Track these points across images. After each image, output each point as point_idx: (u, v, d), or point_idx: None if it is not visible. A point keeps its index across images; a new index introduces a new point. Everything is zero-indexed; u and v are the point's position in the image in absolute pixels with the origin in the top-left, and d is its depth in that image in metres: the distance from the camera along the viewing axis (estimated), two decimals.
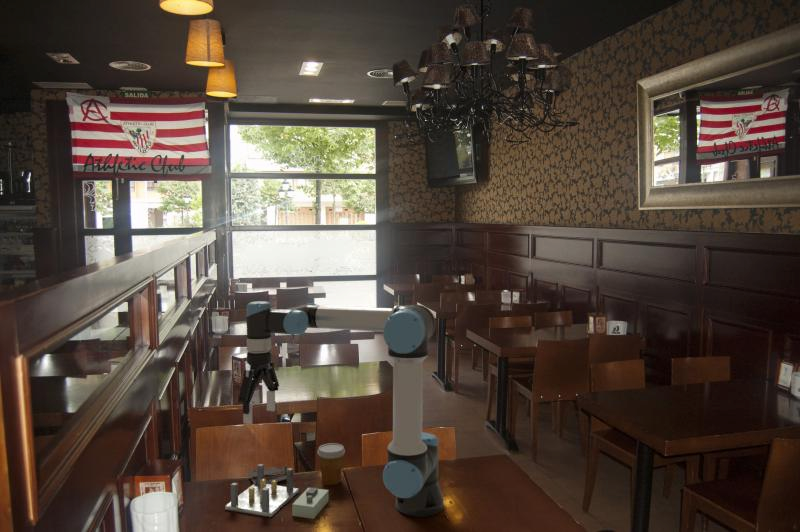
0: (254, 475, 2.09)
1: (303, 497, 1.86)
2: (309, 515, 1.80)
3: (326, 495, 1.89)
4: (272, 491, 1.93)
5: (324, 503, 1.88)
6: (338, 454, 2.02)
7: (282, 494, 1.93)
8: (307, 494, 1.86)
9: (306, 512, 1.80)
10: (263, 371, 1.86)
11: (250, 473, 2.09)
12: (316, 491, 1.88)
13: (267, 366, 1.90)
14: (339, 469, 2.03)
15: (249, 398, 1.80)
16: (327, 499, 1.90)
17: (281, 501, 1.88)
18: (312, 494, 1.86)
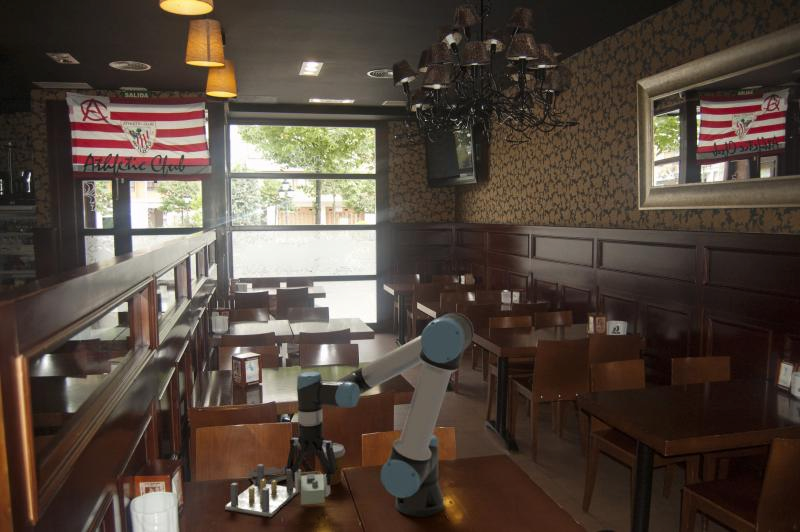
0: (254, 475, 2.09)
1: (305, 484, 1.84)
2: (320, 499, 1.80)
3: None
4: (272, 491, 1.93)
5: None
6: (338, 454, 2.02)
7: (282, 494, 1.93)
8: (308, 480, 1.85)
9: (316, 496, 1.80)
10: (306, 443, 1.83)
11: (250, 473, 2.09)
12: (314, 476, 1.88)
13: (318, 442, 1.83)
14: (339, 469, 2.03)
15: (292, 467, 1.86)
16: None
17: (281, 501, 1.88)
18: (313, 479, 1.86)
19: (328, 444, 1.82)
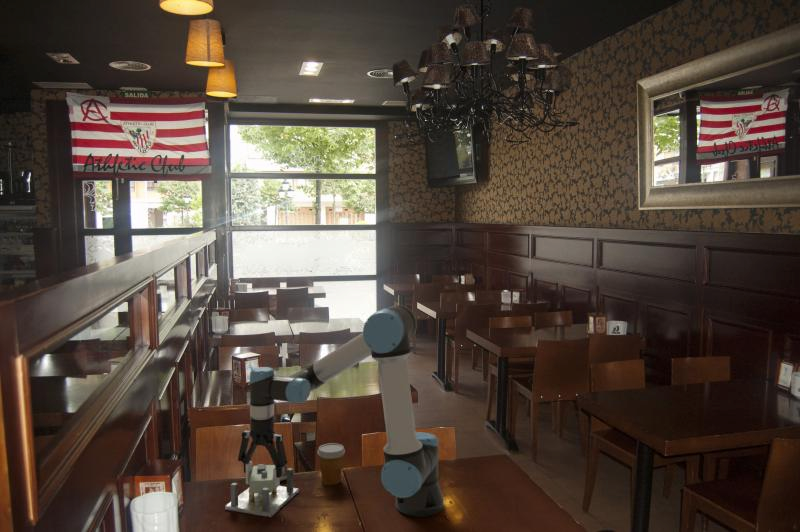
0: None
1: (255, 474, 1.89)
2: None
3: None
4: None
5: None
6: (338, 454, 2.02)
7: (282, 494, 1.93)
8: (258, 471, 1.91)
9: (264, 486, 1.85)
10: (257, 436, 1.88)
11: None
12: (265, 467, 1.93)
13: (269, 435, 1.88)
14: (339, 469, 2.03)
15: (244, 459, 1.91)
16: None
17: (281, 501, 1.88)
18: (264, 470, 1.91)
19: (278, 438, 1.87)
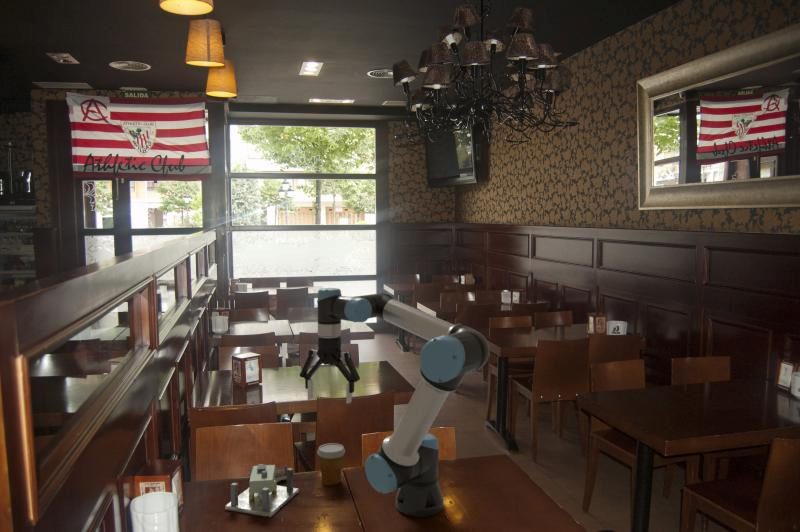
0: None
1: (255, 474, 1.89)
2: None
3: (274, 469, 1.95)
4: None
5: (274, 477, 1.94)
6: (338, 454, 2.02)
7: (282, 494, 1.93)
8: (258, 471, 1.91)
9: (264, 486, 1.85)
10: (325, 356, 1.90)
11: (250, 473, 2.09)
12: (265, 467, 1.93)
13: (336, 354, 1.90)
14: (339, 469, 2.03)
15: (306, 374, 1.94)
16: None
17: (281, 501, 1.88)
18: (264, 470, 1.91)
19: (346, 354, 1.89)
